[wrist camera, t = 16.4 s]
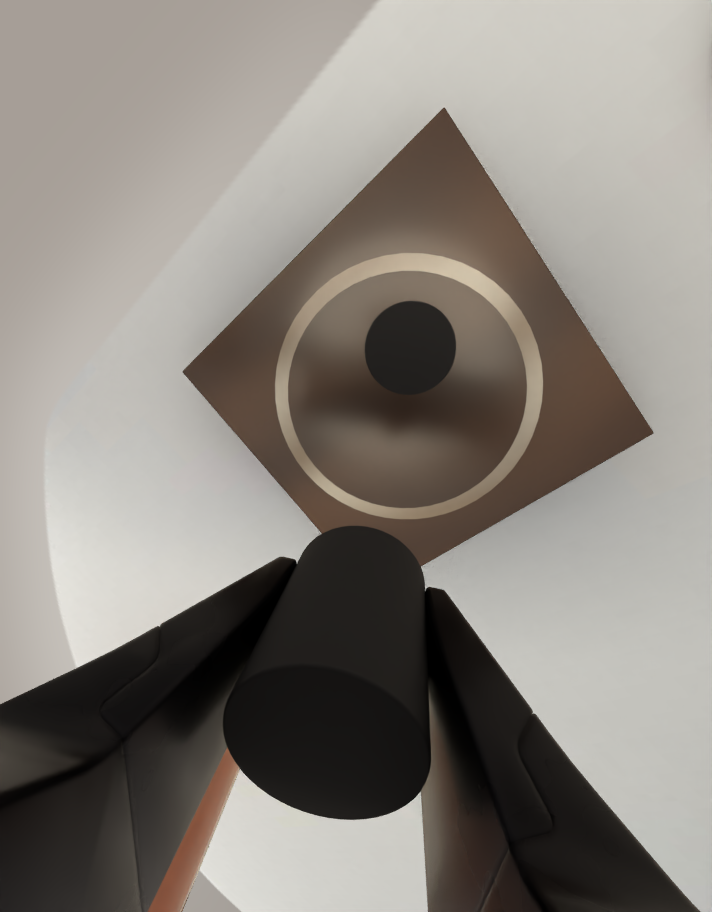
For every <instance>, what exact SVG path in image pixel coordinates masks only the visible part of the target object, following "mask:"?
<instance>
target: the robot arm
mask: <svg viewBox="0 0 712 912" xmlns="http://www.w3.org/2000/svg"><path fill="white" fill-rule="evenodd" d="M296 565H297V563H296V560H295V559H291V558H286V557H279V558H277V559H275V560H273V561H271V562H270V563H268V564H266V565H264V566H263V567H261V568H259V569H257V570H256V571H254V572H252V573H250V574H248V575H247V576H245V577H243V578H241V579H240V580H238V581H236V582H234V583H233V584H231V585H229V586H227V587H226V588H224V589H222V590H220V591H219V592H217V593H215V594H213V595H211V596H210V597H208V598H206V599H204V600H203V601H201V602H199V603H197V604H196V605H194V606H192V607H190V608H189V609H187V610H185V611H183V612H181V613H180V614H178V615H176V616H174V617H173V618H171V619H169V620H167V621H166V622H164V623H162V624H161V625H160V627H159V626H157V627H155V628H153V629H151V630H149V631H148V632H146V633H144V634H142V635H141V636H139V637H137V638H135V639H133V640H131V641H130V642H128V643H126V644H124V645H122V646H120V647H118V648H117V649H115V650H113V651H111V652H109V653H107V654H105V655H103V656H101V657H99V658H97V659H95V660H93V661H91V662H88V663H86V664H84V665H82V666H80V667H78V668H76V669H74V670H72V671H70V672H68V673H66V674H63V675H61V676H60V677H57V678H55V679H53V680H51V681H49V682H47V683H45V684H42V685H40V686H38V687H36V688H34V689H32V690H30V691H28V692H25V693H23V694H21V695H19V696H17V697H15V698H13V699H11V700H9V701H6V702H4V703H2V704H0V912H148V910H149V908H150V906H151V904H152V902H153V900H154V898H155V896H156V894H157V892H158V889H159V887H160V885H161V883H162V881H163V879H164V877H165V875H166V873H167V871H168V869H169V867H170V865H171V863H172V861H173V859H174V856H175V854H176V852H177V850H178V848H179V846H180V844H181V842H182V840H183V838H184V836H185V834H186V832H187V830H188V828H189V826H190V823H191V821H192V819H193V817H194V815H195V813H196V811H197V809H198V807H199V805H200V803H201V801H202V799H203V797H204V795H205V793H206V790H207V788H208V786H209V784H210V782H211V780H212V778H213V776H214V774H215V772H216V770H217V768H218V766H219V764H220V762H221V759H222V757H223V755H224V753H225V751H226V749H227V745H226V742H225V738H224V735H223V726H222V724H223V712H224V708H225V705H226V702H227V700H228V698H229V696H230V694H231V692H232V690H233V688H234V686H235V684H236V682H237V680H238V678H239V676H240V674H241V672H242V670H243V668H244V667H245V665H246V663H247V661H248V659H249V657H250V655H251V653H252V651H253V649H254V647H255V645H256V643H257V641H258V639H259V637H260V635H261V633H262V631H263V629H264V627H265V626H266V624H267V622H268V620H269V618H270V616H271V614H272V612H273V610H274V608H275V606H276V604H277V602H278V600H279V598H280V596H281V594H282V592H283V590H284V588H285V586H286V585H287V583H288V581H289V579H290V577H291V575H292V573H293V571H294V569H295V567H296ZM425 606H426V633H427V659H428V686H429V712H430V739H431V767H430V772H429V775H428V778H427V781H426V783H425V785H424V786H423V788H422V790H421V800H422V817H423V834H424V851H425V869H426V886H427V903H428V912H700V911H699V910H698V909H697V908H696V907H695V906H694V905H693V904H692V903H691V901H690V900H689V899H688V898H687V897H686V896H685V895H684V894H683V893H682V891H681V890H680V889H679V888H678V887H677V886H676V885H675V884H674V882H673V881H672V880H671V879H670V878H669V876H668V875H667V874H666V873H665V872H664V871H663V869H662V868H661V867H660V866H659V865H658V864H657V862H656V861H655V860H654V859H653V858H652V857H651V855H650V854H649V853H648V852H647V851H646V850H645V848H644V847H643V846H642V845H641V844H640V843H639V841H638V840H637V839H636V838H635V837H634V835H633V834H632V833H631V832H630V831H629V830H628V828H627V827H626V826H625V825H624V824H623V823H622V821H621V820H620V819H619V818H618V817H617V816H616V814H615V813H614V812H613V811H612V810H611V809H610V807H609V806H608V805H607V804H606V803H605V802H604V800H603V799H602V798H601V797H600V796H599V794H598V793H597V792H596V791H595V790H594V788H593V787H592V786H591V785H590V784H589V782H588V781H587V780H586V779H585V778H584V776H583V775H582V774H581V773H580V771H579V770H578V769H577V768H576V767H575V765H574V764H573V763H572V762H571V761H570V759H569V758H568V757H567V755H566V754H565V753H564V751H563V750H562V749H561V747H560V746H559V745H558V744H557V742H556V741H555V740H554V738H553V737H552V736H551V734H550V733H549V732H548V730H547V729H546V728H545V726H544V725H543V724H542V722H541V721H540V720H539V718H538V717H537V715H536V714H532V713H533V711H532V709H531V708H530V706H529V705H528V703H527V702H526V701H525V699H524V698H523V697H522V695H521V694H520V693H519V691H518V690H517V688H516V687H515V686H514V684H513V683H512V682H511V680H510V679H509V678H508V676H507V675H506V673H505V672H504V671H503V669H502V668H501V667H500V665H499V664H498V663H497V661H496V660H495V658H494V657H493V656H492V654H491V653H490V652H489V650H488V649H487V648H486V646H485V645H484V644H483V642H482V641H481V639H480V638H479V637H478V635H477V634H476V633H475V631H474V630H473V629H472V627H471V626H470V624H469V623H468V622H467V620H466V619H465V618H464V616H463V615H462V614H461V612H460V611H459V609H458V608H457V607H456V605H455V604H454V603H453V601H452V600H451V599H450V597H449V596H448V594H447V593H446V592H445V591H444V590H442V589H437V588H432V587H428V588H427V589H426V591H425Z"/></svg>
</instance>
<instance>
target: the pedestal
mask: <svg viewBox="0 0 712 912" xmlns="http://www.w3.org/2000/svg"><path fill="white" fill-rule="evenodd" d="M239 770H240V768H239V767H238V765H237V764H236V763H235V761H234V759H233V758H232V756H231V754H230V752H229V750H228V747H227V749H226V751H225V753H224V755H223V757H222V759H221V762H220V764H219V766H218V768H217V770H216V772H215V774H214V776H213V778H212V780H211V782H210V784H209V786H208V788H207V790H206V793H205V795H204V797H203V799H202V801H201V803H200V805H199V807H198V809H197V811H196V813H195V815H194V817H193V819H192V821H191V823H190V826H189V828H188V830H187V832H186V834H185V836H184V838H183V840H182V842H181V844H180V846H179V848H178V850H177V852H176V854H175V856H174V859H173V861H172V863H171V865H170V867H169V869H168V871H167V873H166V875H165V877H164V879H163V881H162V883H161V885H160V887H159V889H158V892H157V894H156V896H155V898H154V900H153V902H152V904H151V906H150V908H149V910H148V912H182V911H183V909H184V906H185V904H186V901H187V899H188V896H189V894H190V891H191V889H192V886H193V884H194V881H195V879H196V877H197V874H198V872H199V869H200V867H201V864H202V862H203V859H204V857H205V854H206V852H207V849H208V847H209V844H210V842H211V839H212V837H213V835H214V832H215V830H216V827H217V825H218V822H219V820H220V817H221V815H222V812H223V810H224V807H225V805H226V802H227V800H228V797H229V795H230V792H231V790H232V787H233V785H234V783H235V780H236V778H237V775H238V773H239Z"/></svg>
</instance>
